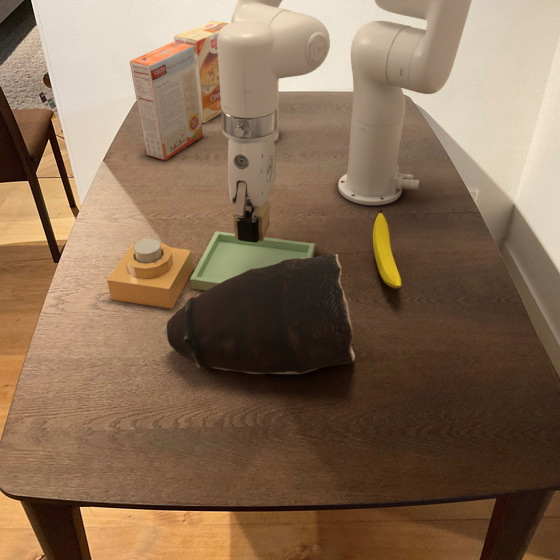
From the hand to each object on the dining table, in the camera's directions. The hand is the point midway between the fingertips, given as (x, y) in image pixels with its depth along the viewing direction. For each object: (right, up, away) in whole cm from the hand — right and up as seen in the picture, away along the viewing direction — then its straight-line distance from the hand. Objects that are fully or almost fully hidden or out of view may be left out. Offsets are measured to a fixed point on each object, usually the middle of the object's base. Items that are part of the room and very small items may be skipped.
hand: (252, 230), depth 90 cm
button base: (-16, -8, +2) cm, 18 cm away
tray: (0, -6, +5) cm, 8 cm away
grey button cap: (-16, -4, -1) cm, 17 cm away
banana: (+22, -7, +5) cm, 23 cm away
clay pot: (+2, -18, -9) cm, 20 cm away
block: (0, 0, 0) cm, 0 cm away
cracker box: (-20, +22, +40) cm, 50 cm away
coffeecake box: (-13, +35, +56) cm, 67 cm away
